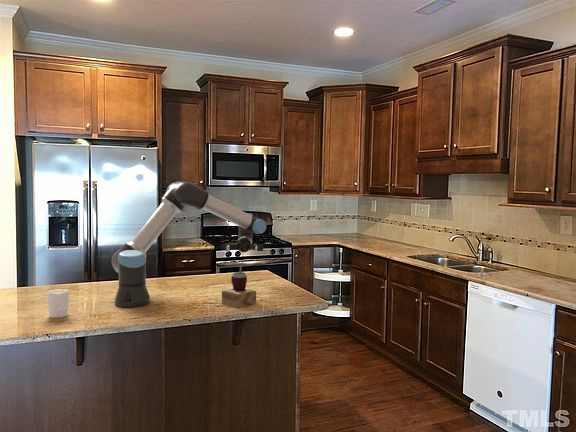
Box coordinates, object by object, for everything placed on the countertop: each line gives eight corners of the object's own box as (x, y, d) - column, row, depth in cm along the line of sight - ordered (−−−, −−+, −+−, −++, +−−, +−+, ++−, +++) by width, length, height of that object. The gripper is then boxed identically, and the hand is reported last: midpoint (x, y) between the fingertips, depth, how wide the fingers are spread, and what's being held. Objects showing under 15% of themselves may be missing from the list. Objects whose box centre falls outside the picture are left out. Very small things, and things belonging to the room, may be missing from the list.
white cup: (72, 313, 193) (72, 289, 192) (64, 318, 185) (63, 293, 185) (53, 312, 193) (52, 289, 192) (44, 318, 185) (43, 293, 184)
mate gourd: (235, 288, 216) (235, 256, 215) (251, 289, 214) (251, 257, 212) (228, 291, 209) (228, 258, 208) (244, 293, 207) (244, 259, 205)
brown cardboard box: (237, 308, 204) (237, 294, 204) (221, 303, 211) (221, 290, 211) (256, 304, 212) (256, 290, 212) (240, 299, 220) (240, 286, 219)
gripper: (267, 252, 242) (267, 258, 221) (219, 250, 241) (215, 256, 220) (268, 238, 242) (268, 242, 220) (220, 236, 240) (215, 241, 219)
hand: (241, 249), depth 220 cm, fingers open, 13 cm apart
